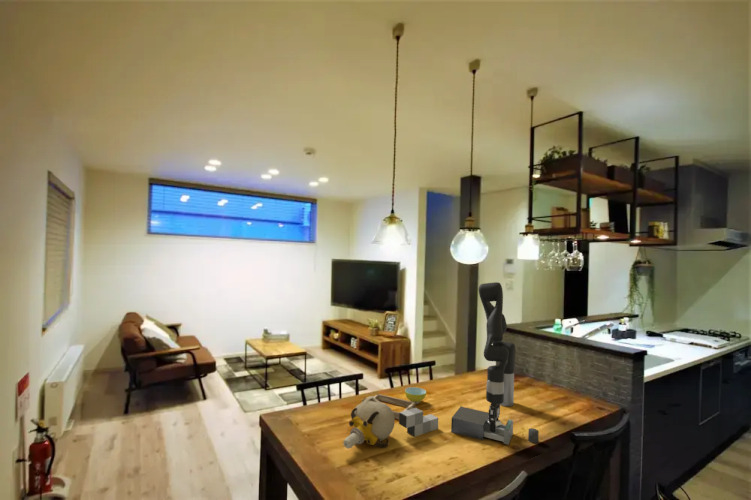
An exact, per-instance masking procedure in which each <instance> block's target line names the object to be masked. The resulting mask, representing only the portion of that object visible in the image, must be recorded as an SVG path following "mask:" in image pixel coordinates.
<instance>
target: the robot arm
mask: <svg viewBox="0 0 751 500" xmlns="http://www.w3.org/2000/svg"><path fill="white" fill-rule="evenodd" d="M478 294H479V298H480V301H481V303H482V306H483V310H484V313H485V317H486V325H485V326H486V327H485V328H486V342H485V346H484V349H483V350H484V351H483V358H485V360H486V361H487V362H495V363H496V362H498V363H497V364H496V365H490V366H488V367H487V371H486V374H487V375H486V378H487V379H486V386H485V387H486V391H485V393H486V394H485V400H486V401H487V402H489V403H490V405H489V407H488V413H489V423H490V431H491V432H495V430H496V419H498V420H499V418H500V414H501V413H500V412H501V406H503V407H512V406H514V399H515V398H514V397H515V395H514V392H515V365H516V364H515V362H516V353H517V352H516V345H515V344H514V343H512V342H507V341H503V339H504V334H505V333H506V331H507V329H508V325H507V321H506V317H505V315H504V313H503V310H504V309H503V307H504V306H503V305H504V303H503V302H504V291H503V287H502V283H500V282H498V281H497V282H495V281H494V282H487V283H486V282H484V283H481V284H479V286H478ZM492 302H495V305H493V304H492ZM492 418H493V420H491V419H492Z"/></svg>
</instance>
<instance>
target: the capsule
mask: <svg viewBox="0 0 751 500" xmlns="http://www.w3.org/2000/svg"><path fill="white" fill-rule="evenodd" d="M527 433H528V437H527V438H528V439H527V441H528V442H529V443H531V442H532V444H538V443H539V436H540V435H539V433H540V432H539V430H538V429H535V428H528V432H527Z"/></svg>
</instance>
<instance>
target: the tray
mask: <svg viewBox="0 0 751 500" xmlns="http://www.w3.org/2000/svg"><path fill="white" fill-rule="evenodd" d="M513 434H514V420H513V419H510V418H509V419H508V420H507V421H506V424H502V423H501V427H500V428H496V430H495V432H491V431H490V426H488V425H487V421H486V423H485V425H484V434H483V437H485V438H488V439H490V440H491V439H492V440H496V441H499V442H503V445H508V446H509V445H510V442H511V439H512V437H513Z"/></svg>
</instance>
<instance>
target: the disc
mask: <svg viewBox="0 0 751 500" xmlns="http://www.w3.org/2000/svg"><path fill="white" fill-rule="evenodd" d="M491 420H493V418H492V419H491ZM501 424H502V421H501V420H500V419H499V418H498V419H496V428H500V427H501ZM487 425H488V426H490V423H489V419H488V420H487Z"/></svg>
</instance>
